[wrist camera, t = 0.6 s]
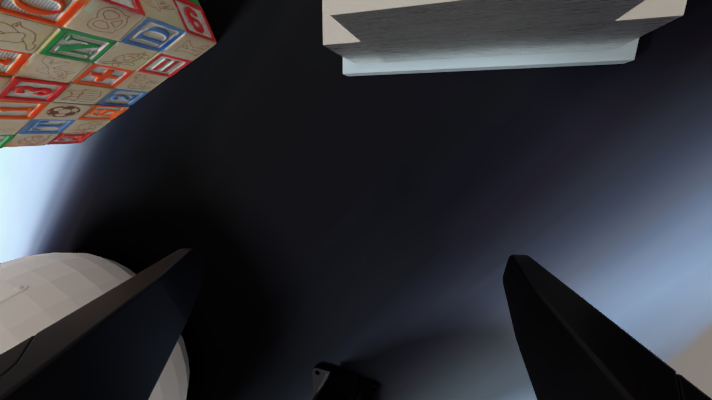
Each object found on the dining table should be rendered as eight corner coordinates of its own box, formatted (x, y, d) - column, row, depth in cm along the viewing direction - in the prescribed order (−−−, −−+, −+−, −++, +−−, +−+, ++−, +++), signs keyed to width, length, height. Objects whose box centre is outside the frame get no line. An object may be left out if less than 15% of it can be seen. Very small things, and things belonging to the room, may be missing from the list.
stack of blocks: (83, 145, 32) (-122, 155, 21) (55, 89, 32) (-171, 69, 20) (219, 42, 24) (4, -32, 13) (186, -35, 23) (-72, -186, 12)
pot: (31, 219, 39) (-268, 284, 23) (186, 236, 30) (-118, 358, 14) (85, 401, 45) (-118, 550, 29) (225, 457, 37) (46, 708, 21)
